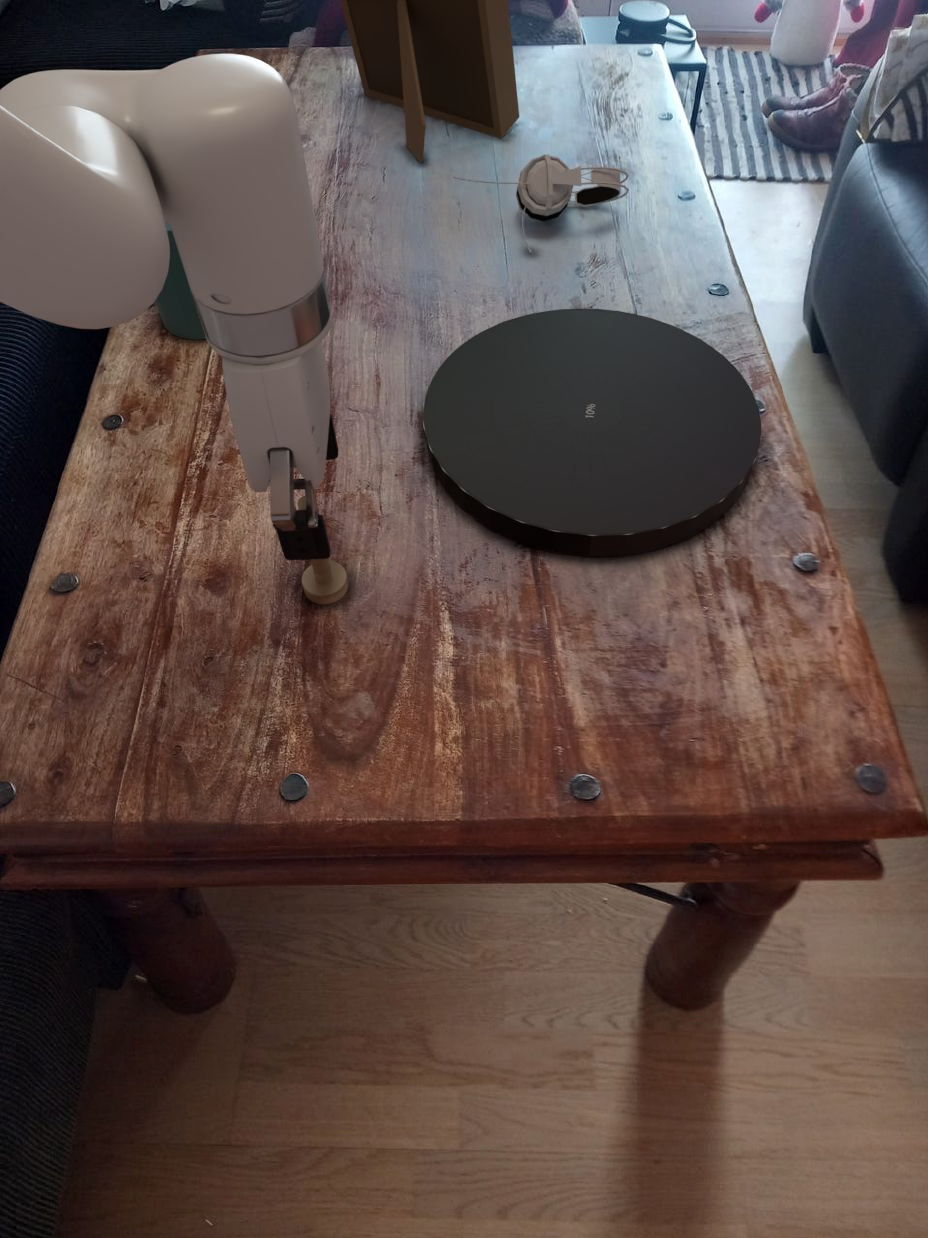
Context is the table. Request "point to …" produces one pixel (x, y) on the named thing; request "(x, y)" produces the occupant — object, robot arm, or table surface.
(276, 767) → the table surface
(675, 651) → the table surface
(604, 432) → the disc
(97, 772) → the table surface
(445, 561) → the table surface
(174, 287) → the jar
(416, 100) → the photo frame
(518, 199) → the headphones
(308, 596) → the rod on round base
